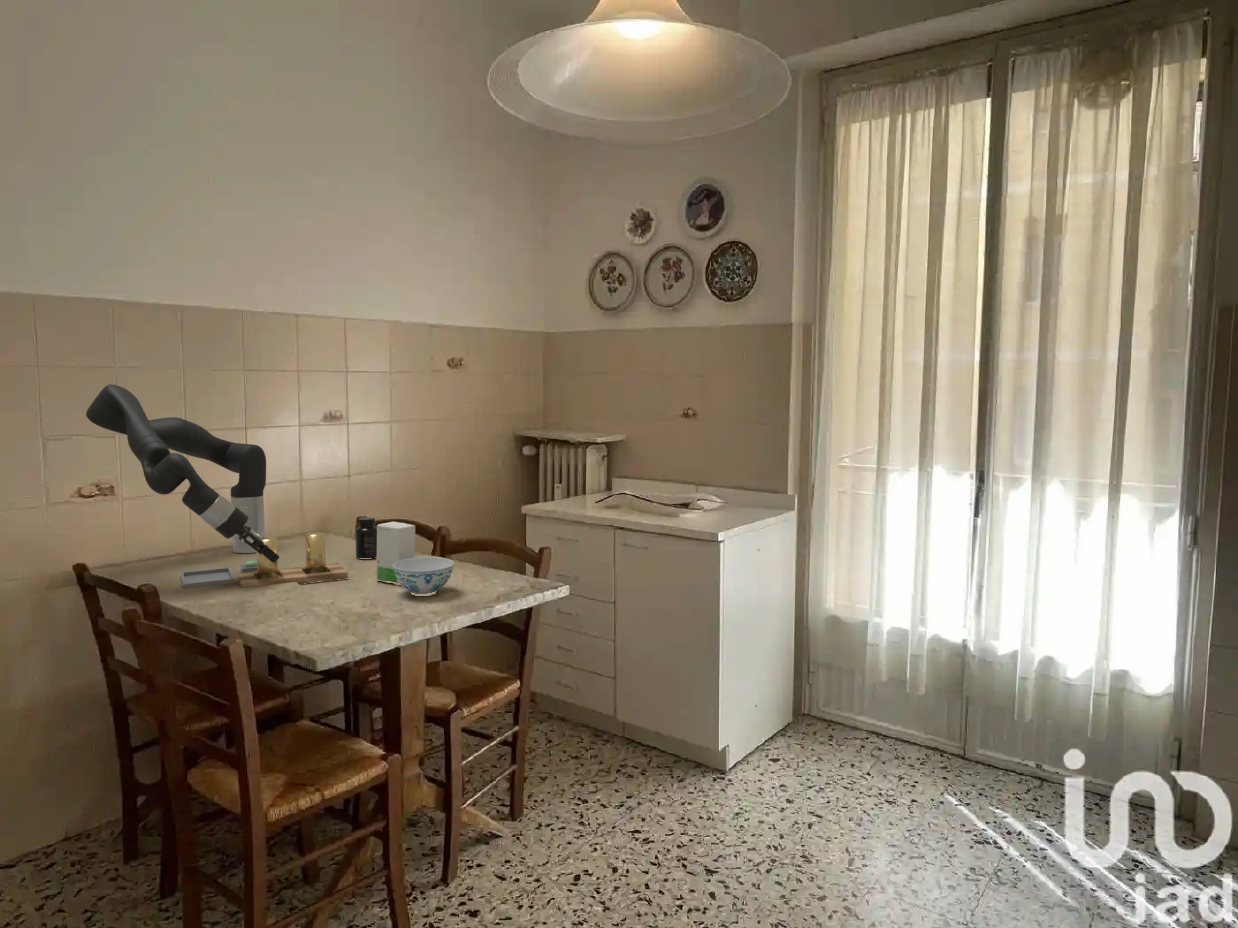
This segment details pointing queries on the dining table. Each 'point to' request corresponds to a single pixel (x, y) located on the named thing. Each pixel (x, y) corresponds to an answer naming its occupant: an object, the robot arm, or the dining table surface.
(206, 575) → the grey tray
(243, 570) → the button housing
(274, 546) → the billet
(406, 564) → the chinaware
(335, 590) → the dining table surface
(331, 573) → the pallet
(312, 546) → the seated billet
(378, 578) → the skincare box
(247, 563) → the button
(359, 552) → the supplement bottle
